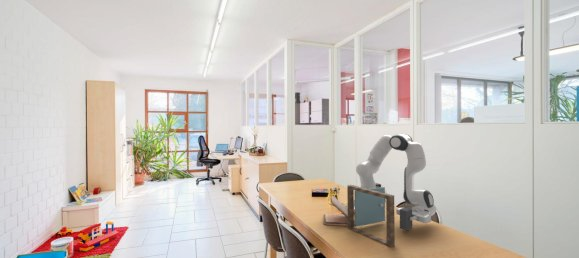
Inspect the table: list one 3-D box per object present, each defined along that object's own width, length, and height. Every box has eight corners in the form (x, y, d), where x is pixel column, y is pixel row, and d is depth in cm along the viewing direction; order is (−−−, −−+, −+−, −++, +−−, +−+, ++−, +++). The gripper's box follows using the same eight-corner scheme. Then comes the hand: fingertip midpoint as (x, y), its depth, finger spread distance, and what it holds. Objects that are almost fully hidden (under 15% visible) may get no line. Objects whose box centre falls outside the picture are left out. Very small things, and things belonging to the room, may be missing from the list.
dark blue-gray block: (399, 228, 164) (399, 209, 164) (405, 226, 168) (405, 207, 167) (406, 230, 161) (406, 211, 160) (412, 228, 164) (412, 209, 164)
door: (357, 227, 168) (357, 191, 167) (354, 226, 171) (354, 190, 170) (387, 221, 177) (386, 187, 177) (383, 220, 180) (383, 186, 180)
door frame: (347, 228, 171) (347, 185, 171) (351, 227, 173) (350, 184, 172) (391, 247, 144) (390, 196, 143) (394, 245, 145) (394, 195, 145)
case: (355, 227, 174) (355, 202, 174) (323, 225, 177) (323, 201, 177) (352, 216, 194) (352, 194, 194) (323, 215, 197) (323, 194, 197)
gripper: (403, 204, 180) (390, 207, 172) (433, 212, 162) (420, 217, 155) (403, 213, 180) (390, 217, 172) (433, 222, 163) (420, 227, 155)
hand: (405, 217), depth 163 cm, fingers closed on dark blue-gray block, 4 cm apart
